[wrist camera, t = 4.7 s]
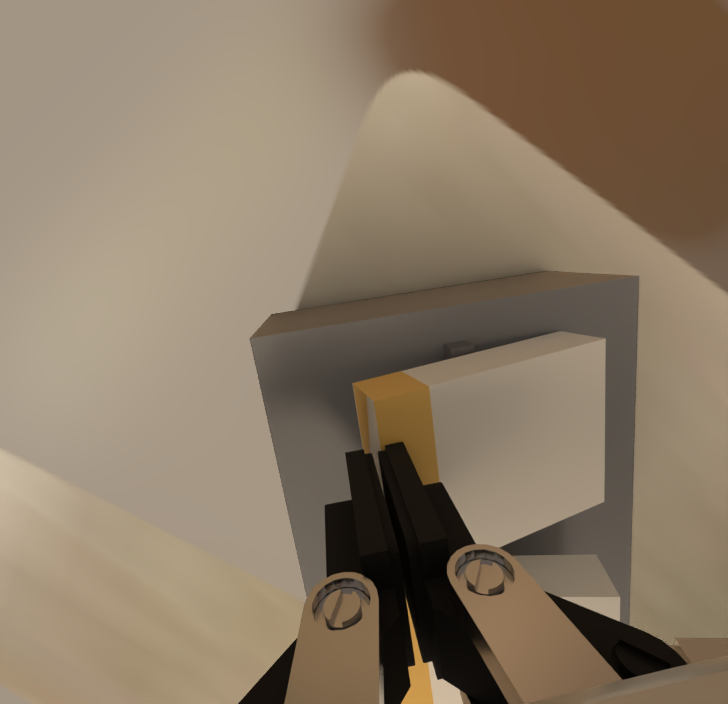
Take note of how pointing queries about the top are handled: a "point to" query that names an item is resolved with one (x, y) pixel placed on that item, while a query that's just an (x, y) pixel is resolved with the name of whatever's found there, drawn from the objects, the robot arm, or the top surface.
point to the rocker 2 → (554, 575)
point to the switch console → (429, 345)
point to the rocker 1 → (500, 430)
